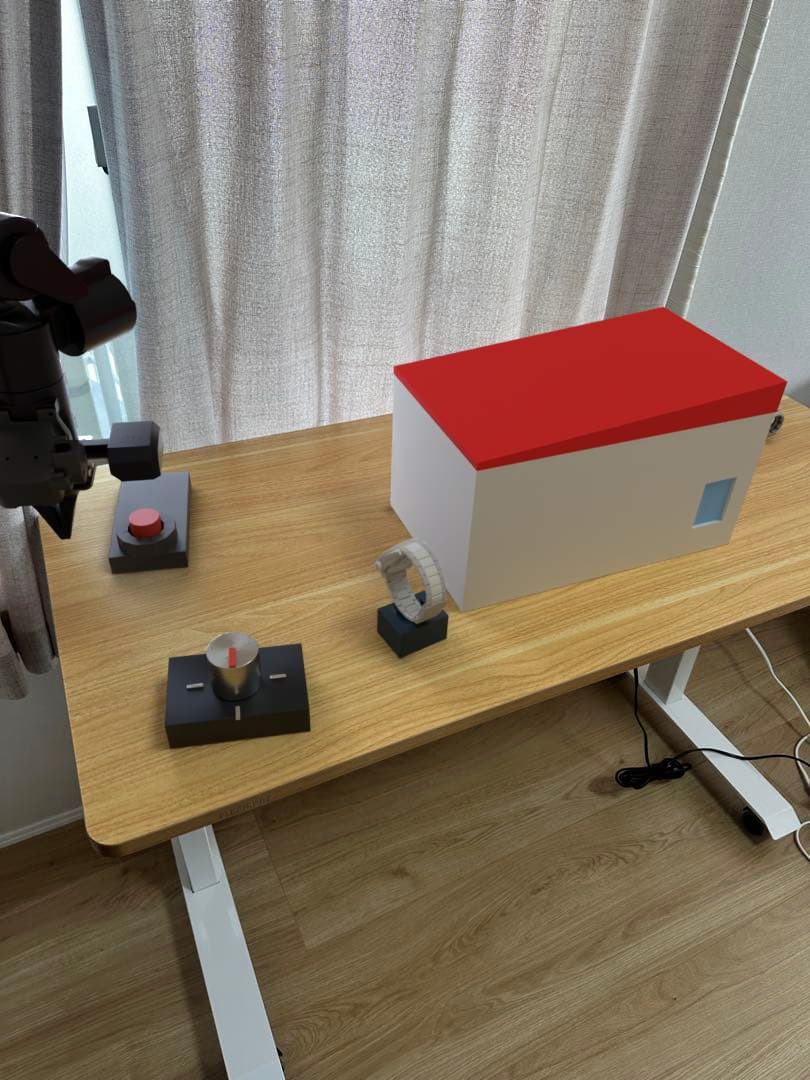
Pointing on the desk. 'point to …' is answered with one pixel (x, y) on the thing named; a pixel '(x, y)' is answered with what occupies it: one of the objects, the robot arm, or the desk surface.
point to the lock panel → (216, 720)
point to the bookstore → (576, 452)
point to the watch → (412, 599)
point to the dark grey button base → (174, 510)
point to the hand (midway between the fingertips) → (66, 536)
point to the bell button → (145, 523)
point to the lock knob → (234, 665)
